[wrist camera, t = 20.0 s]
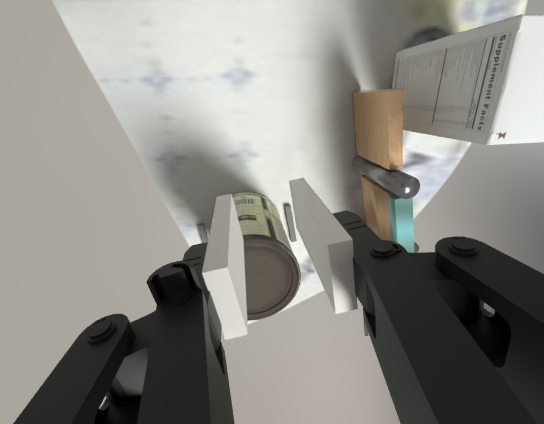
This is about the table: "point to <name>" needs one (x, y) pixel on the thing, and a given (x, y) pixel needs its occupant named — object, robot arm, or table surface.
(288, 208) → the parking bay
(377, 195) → the gate
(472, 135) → the supplement box
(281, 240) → the coffee can
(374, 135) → the gate posts
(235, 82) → the table surface
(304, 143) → the table surface
